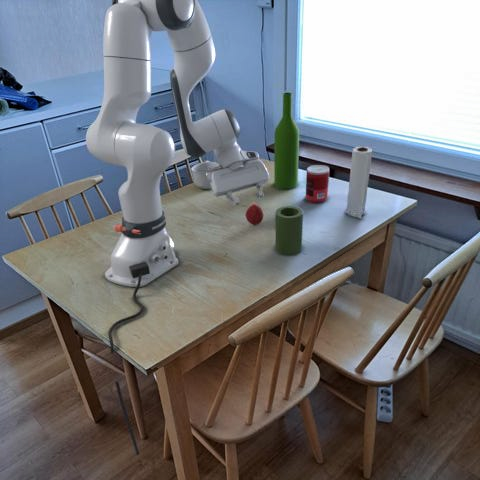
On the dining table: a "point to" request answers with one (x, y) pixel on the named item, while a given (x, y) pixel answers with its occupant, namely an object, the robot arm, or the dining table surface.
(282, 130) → the wine bottle
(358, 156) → the paper towel roll
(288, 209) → the green cylindrical vase
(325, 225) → the dining table surface
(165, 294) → the dining table surface
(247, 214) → the onion
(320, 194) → the canned food
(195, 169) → the teacup
